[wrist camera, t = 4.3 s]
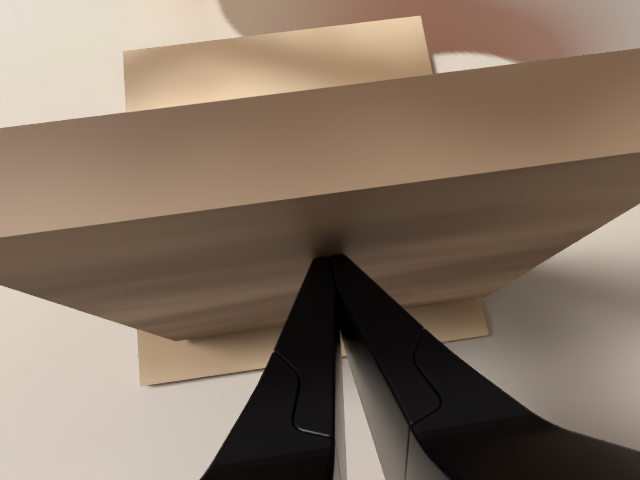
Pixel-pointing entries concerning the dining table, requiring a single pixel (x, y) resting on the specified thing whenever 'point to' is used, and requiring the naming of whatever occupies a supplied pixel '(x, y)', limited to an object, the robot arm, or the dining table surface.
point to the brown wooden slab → (319, 192)
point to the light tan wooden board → (264, 79)
